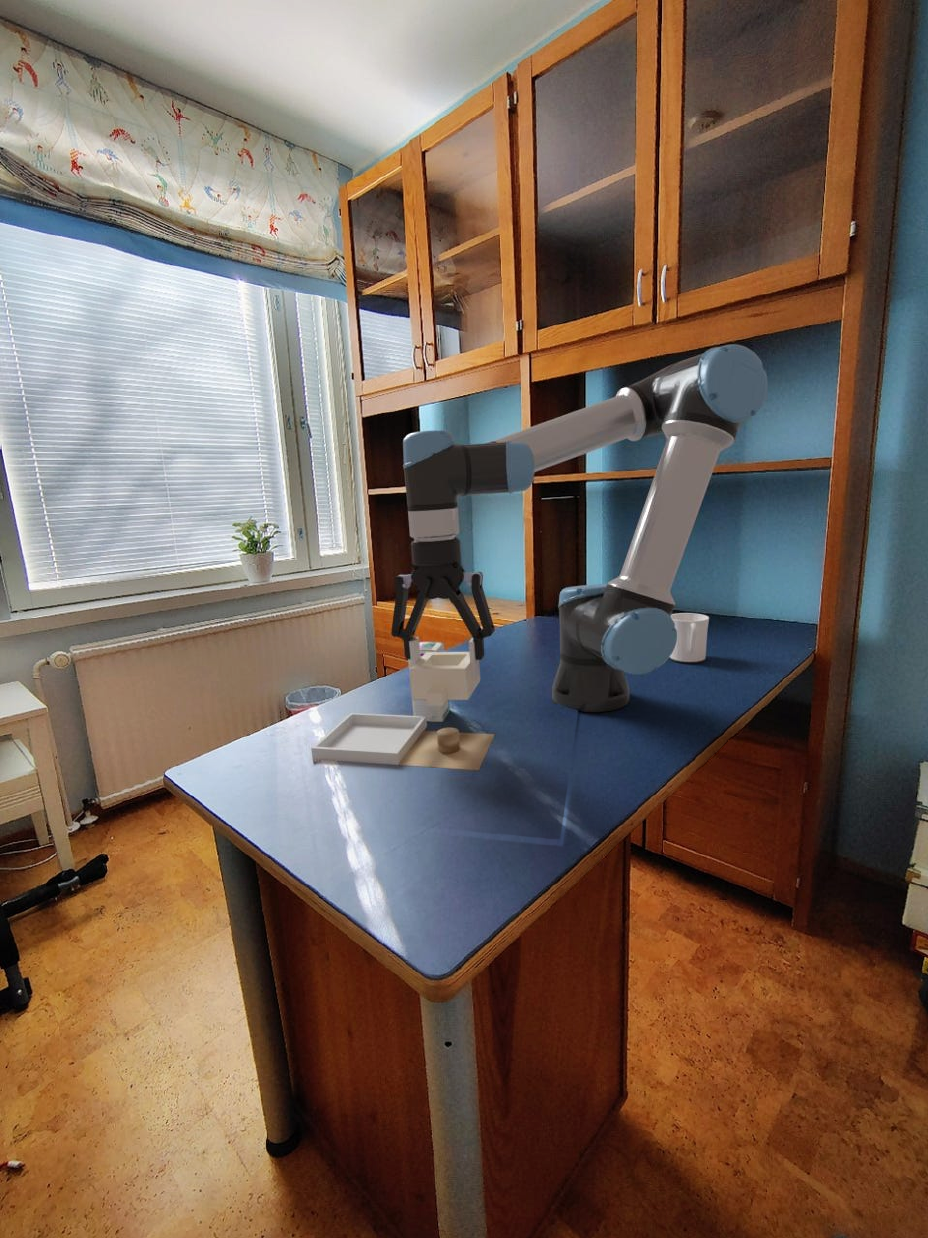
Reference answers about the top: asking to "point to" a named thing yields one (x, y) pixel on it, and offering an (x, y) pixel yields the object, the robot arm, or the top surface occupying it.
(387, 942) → the top surface
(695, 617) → the mug
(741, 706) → the top surface
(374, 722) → the tray
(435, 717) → the syrup box
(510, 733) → the top surface
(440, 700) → the cream hollow block
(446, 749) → the tan square lid
